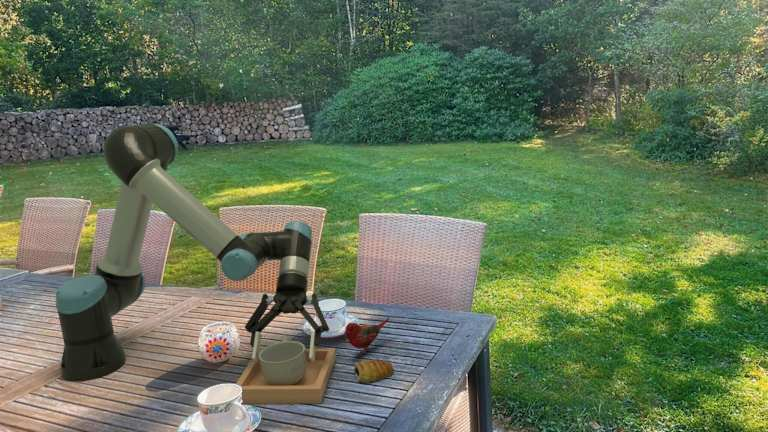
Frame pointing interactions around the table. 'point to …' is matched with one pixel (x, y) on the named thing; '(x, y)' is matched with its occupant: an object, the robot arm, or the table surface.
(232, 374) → the table surface
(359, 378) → the pastry
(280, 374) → the teacup
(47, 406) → the table surface
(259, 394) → the shallow wooden tray
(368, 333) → the decorative bird figurine
